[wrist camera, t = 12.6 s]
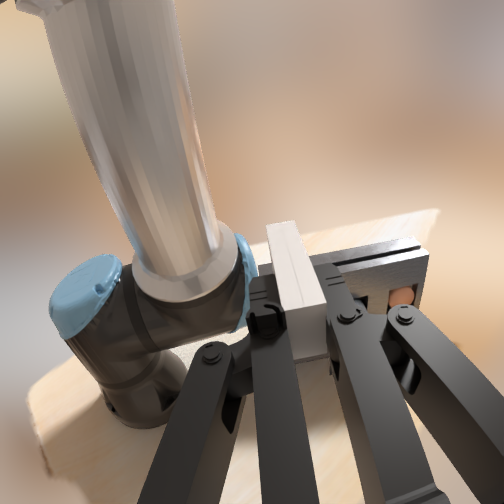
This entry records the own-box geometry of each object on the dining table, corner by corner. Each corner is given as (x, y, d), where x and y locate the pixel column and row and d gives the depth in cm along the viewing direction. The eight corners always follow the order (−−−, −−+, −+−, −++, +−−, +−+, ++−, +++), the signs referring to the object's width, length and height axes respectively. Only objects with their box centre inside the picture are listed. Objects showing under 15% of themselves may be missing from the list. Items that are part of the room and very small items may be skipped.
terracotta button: (388, 313, 40) (392, 292, 38) (382, 302, 42) (385, 281, 40) (412, 307, 39) (416, 286, 37) (405, 297, 42) (408, 276, 39)
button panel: (276, 366, 44) (260, 288, 36) (273, 343, 48) (257, 265, 40) (411, 335, 43) (429, 254, 35) (400, 315, 47) (412, 236, 39)
